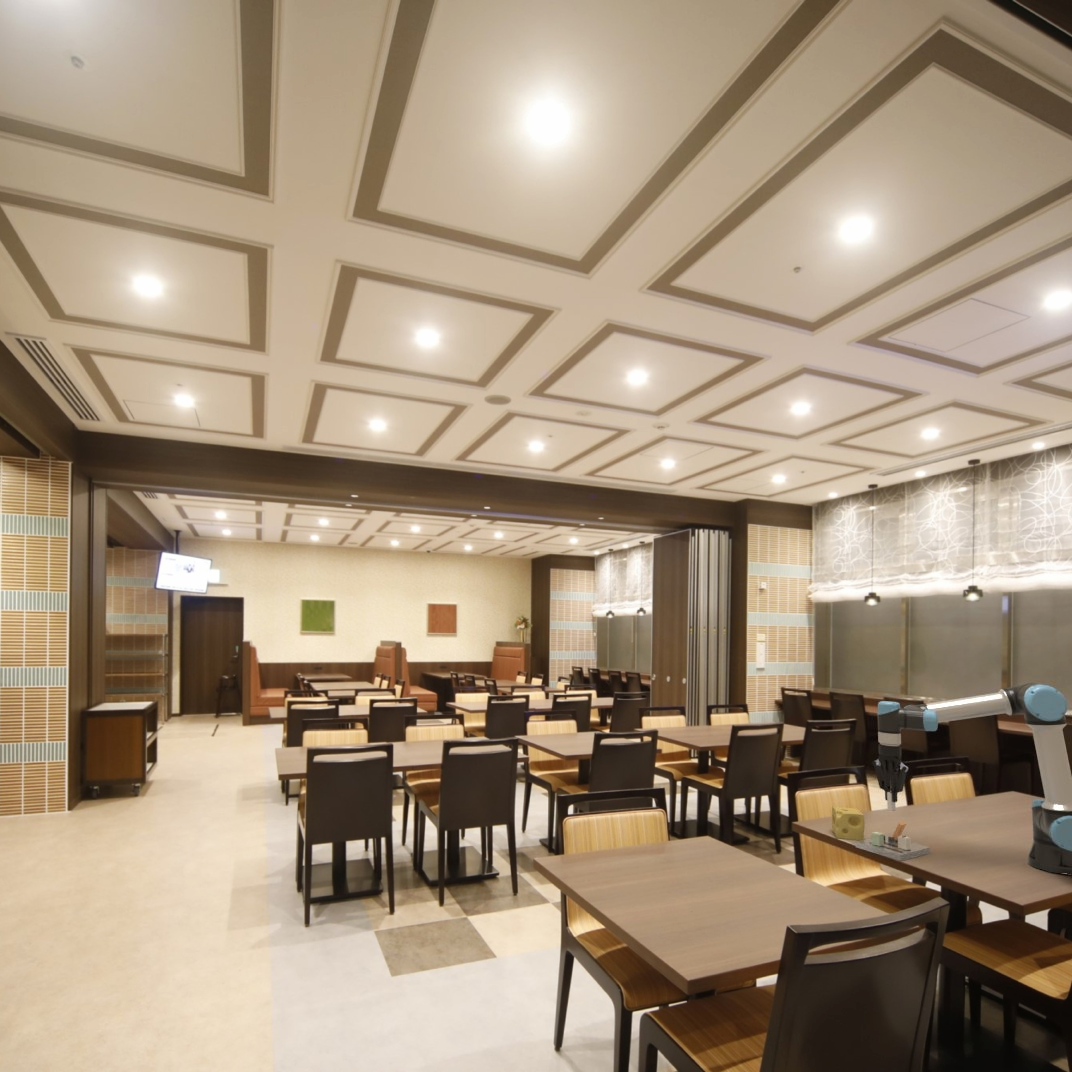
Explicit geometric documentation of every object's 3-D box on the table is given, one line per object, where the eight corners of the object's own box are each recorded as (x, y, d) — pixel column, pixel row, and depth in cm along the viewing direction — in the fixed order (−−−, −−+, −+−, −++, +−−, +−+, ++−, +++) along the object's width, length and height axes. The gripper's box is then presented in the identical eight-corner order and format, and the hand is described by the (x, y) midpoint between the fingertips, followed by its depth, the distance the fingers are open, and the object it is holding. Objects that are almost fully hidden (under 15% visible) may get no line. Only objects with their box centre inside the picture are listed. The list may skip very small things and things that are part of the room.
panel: (929, 853, 256) (929, 842, 257) (900, 861, 245) (900, 849, 246) (884, 840, 270) (884, 829, 271) (855, 847, 259) (855, 836, 260)
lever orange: (898, 841, 262) (906, 824, 261) (894, 842, 261) (901, 825, 259) (894, 839, 264) (902, 821, 262) (890, 840, 262) (898, 822, 260)
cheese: (835, 838, 269) (835, 811, 271) (831, 830, 280) (830, 805, 281) (864, 841, 267) (864, 814, 268) (858, 834, 277) (858, 808, 279)
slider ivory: (910, 849, 253) (910, 836, 253) (906, 850, 251) (905, 837, 252) (902, 846, 255) (902, 834, 256) (898, 847, 254) (897, 835, 254)
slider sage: (883, 845, 256) (883, 833, 256) (879, 846, 254) (879, 834, 255) (876, 842, 258) (875, 830, 259) (871, 843, 257) (871, 831, 257)
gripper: (912, 746, 253) (915, 813, 250) (878, 740, 264) (880, 805, 261) (901, 747, 249) (903, 816, 246) (867, 742, 260) (868, 807, 257)
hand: (891, 810), depth 254 cm, fingers closed
